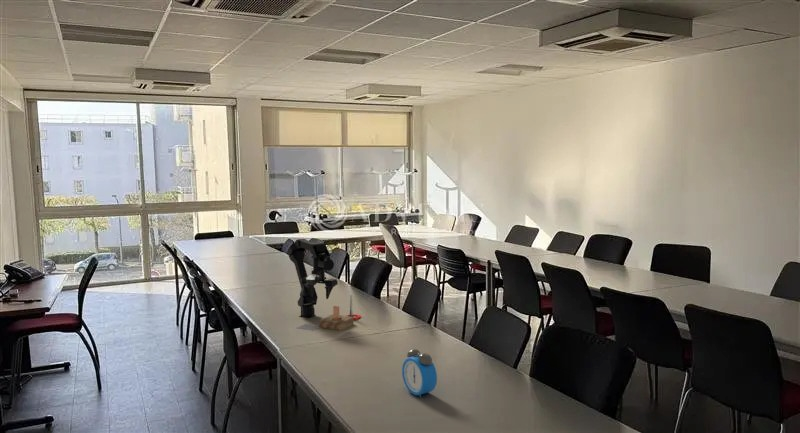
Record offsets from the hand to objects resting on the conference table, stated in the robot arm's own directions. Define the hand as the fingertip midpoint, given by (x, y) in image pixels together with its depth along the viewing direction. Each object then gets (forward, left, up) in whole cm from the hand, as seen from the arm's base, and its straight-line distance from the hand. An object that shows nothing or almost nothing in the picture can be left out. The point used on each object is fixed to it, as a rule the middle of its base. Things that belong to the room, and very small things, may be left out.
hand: (319, 298), depth 292 cm
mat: (+1, -11, -12) cm, 17 cm away
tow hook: (+11, +14, -13) cm, 22 cm away
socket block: (+12, -3, -12) cm, 18 cm away
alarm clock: (+83, -61, -13) cm, 104 cm away
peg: (+12, -3, -12) cm, 18 cm away
